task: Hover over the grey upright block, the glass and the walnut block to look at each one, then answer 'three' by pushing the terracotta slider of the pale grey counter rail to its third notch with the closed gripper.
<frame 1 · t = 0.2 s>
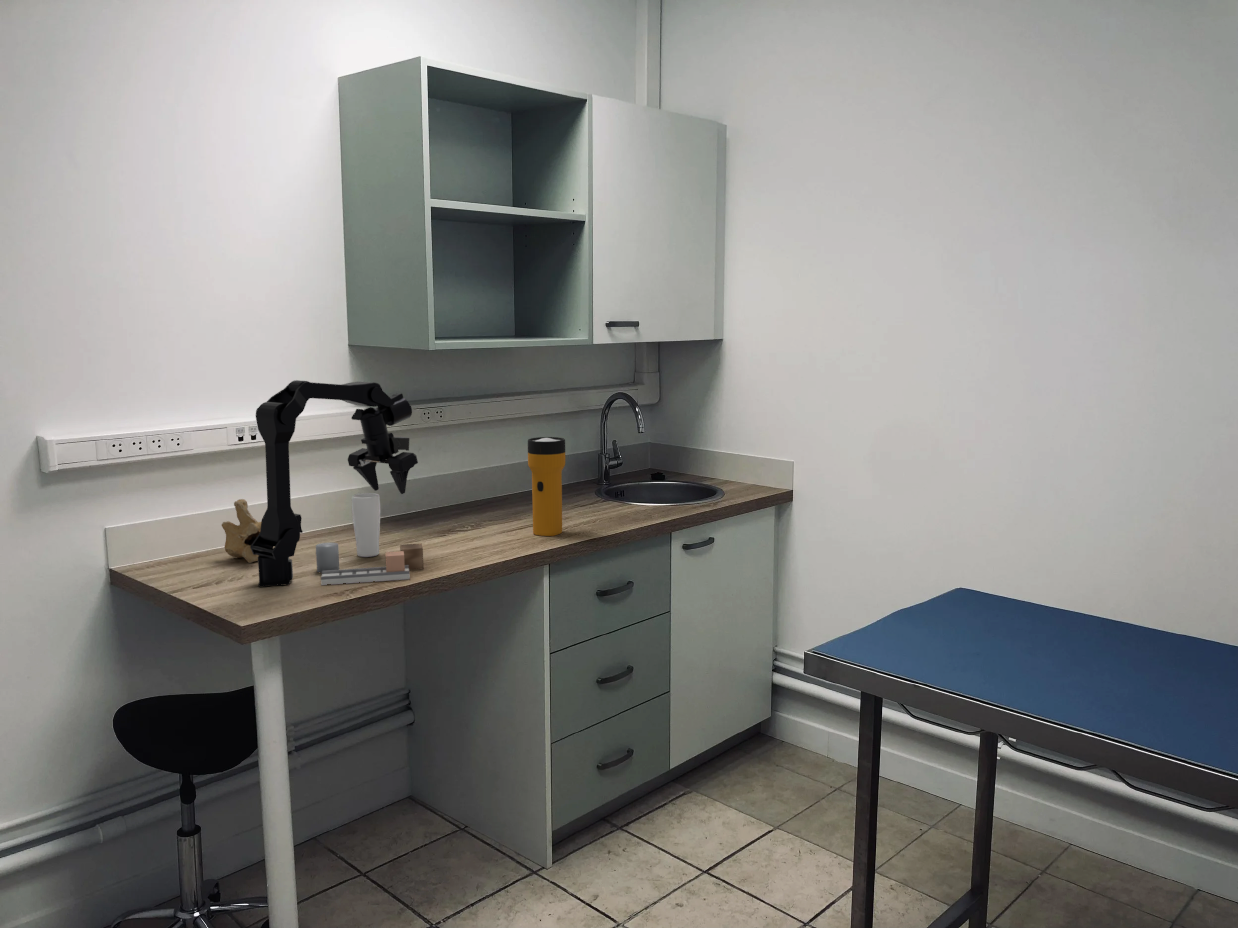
hand: (389, 491, 240), 15 cm above the table, tool pointing down, fingers open, 9 cm apart
counter rail: (363, 578, 218), on the table
vertebra: (249, 560, 236), on the table
flashlight: (547, 533, 262), on the table
grey upright block: (328, 570, 226), on the table
counter slider: (395, 562, 219), point 3 cm above the table, slide at 0.0 cm
walnut block: (412, 567, 228), on the table
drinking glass: (368, 555, 239), on the table
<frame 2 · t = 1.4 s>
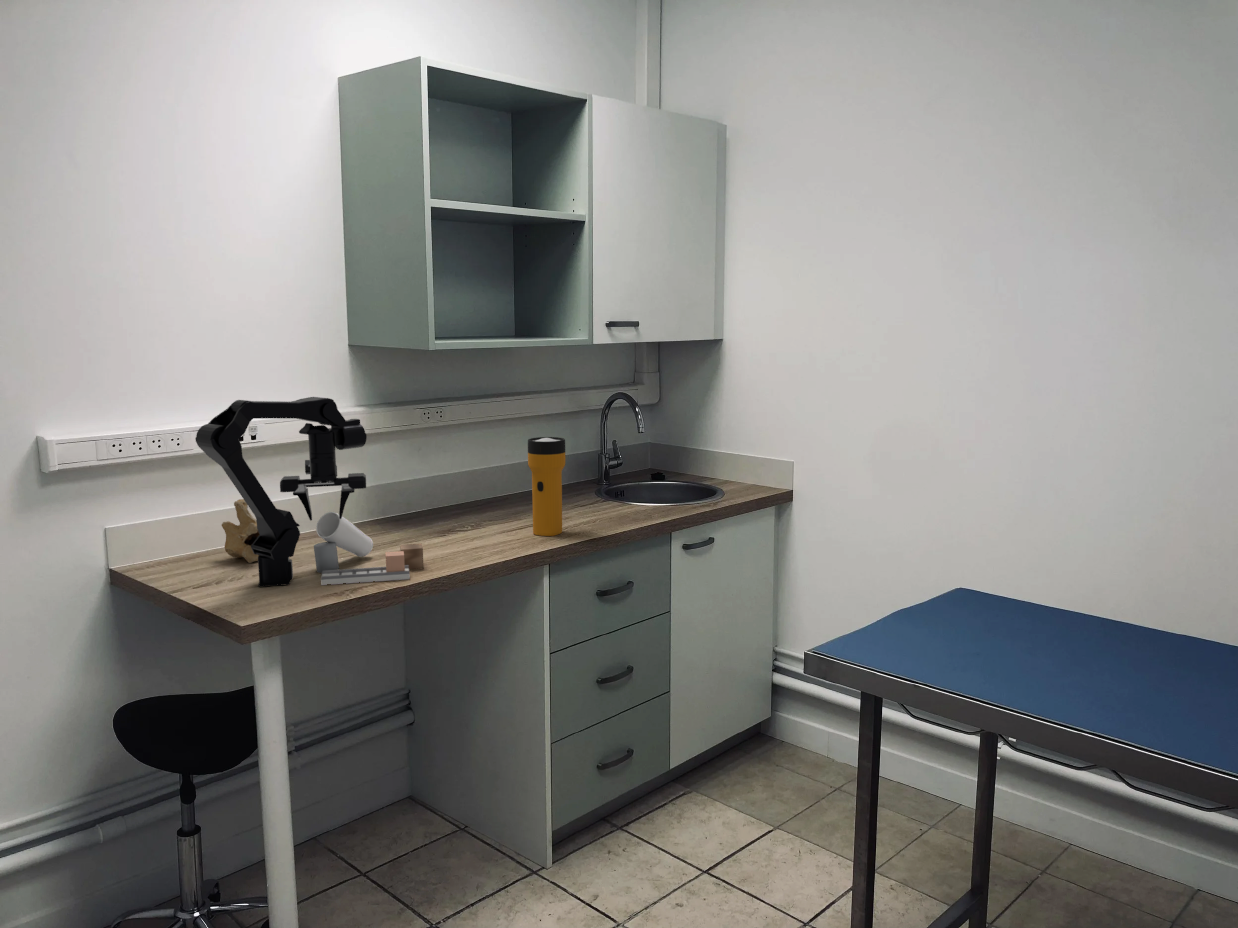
hand: (325, 519, 224), 12 cm above the table, tool pointing down, fingers open, 6 cm apart
grey upright block: (327, 569, 226), on the table, touching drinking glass
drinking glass: (365, 547, 238), point 2 cm above the table, touching grey upright block, gripper
everything else where it was.
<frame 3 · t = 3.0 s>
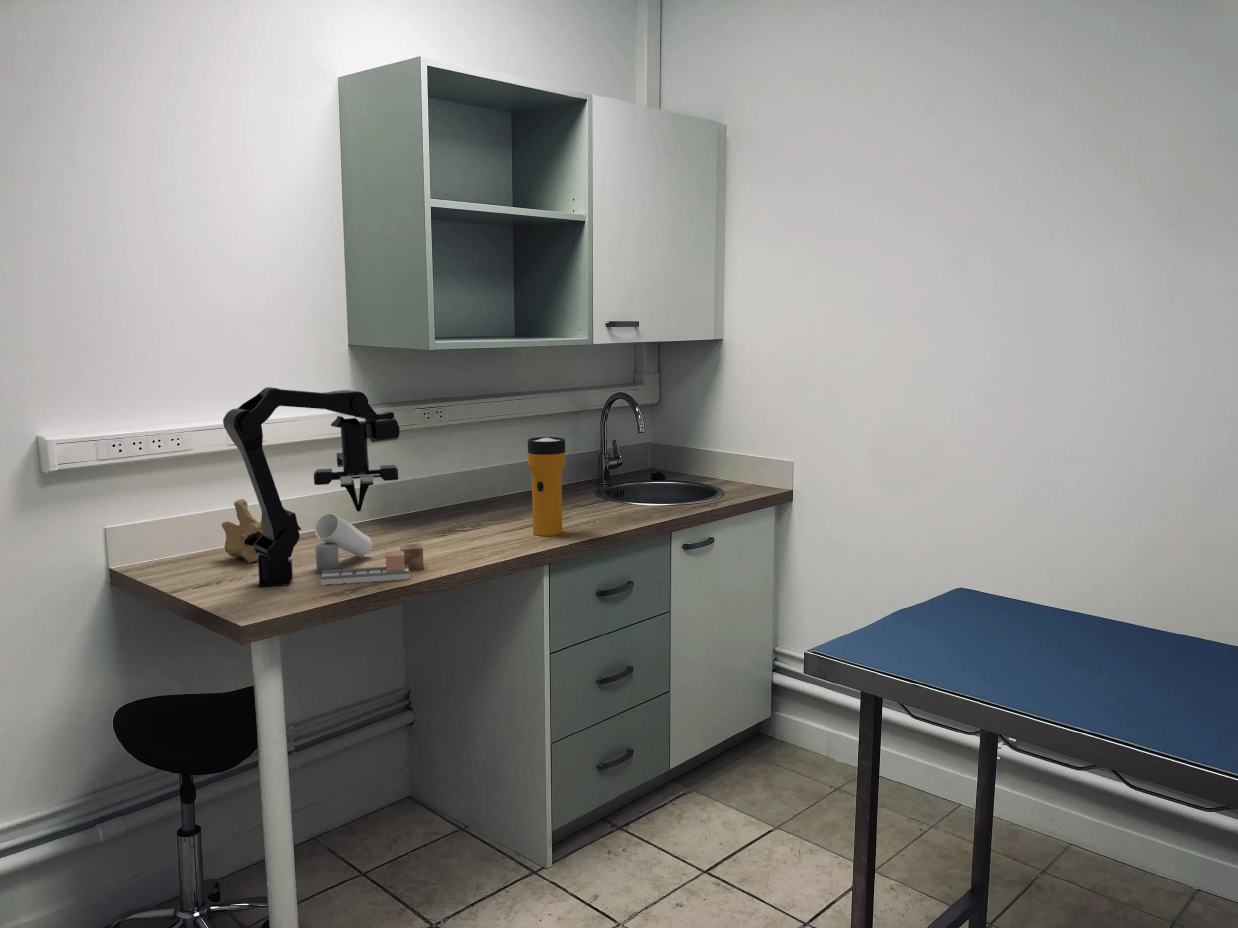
hand: (358, 511, 227), 13 cm above the table, tool pointing down, fingers closed
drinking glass: (364, 547, 239), point 2 cm above the table, touching grey upright block
everything else where it was.
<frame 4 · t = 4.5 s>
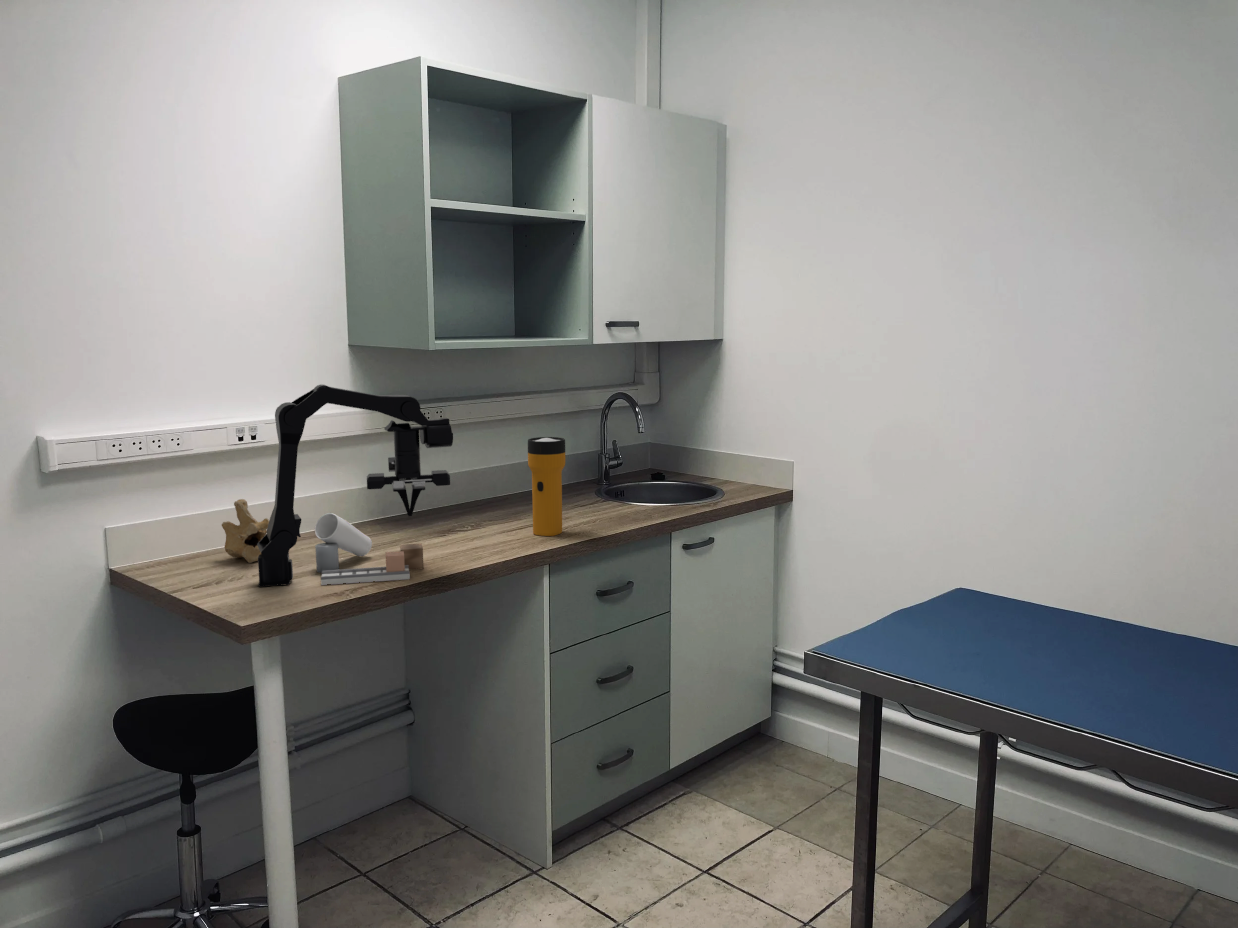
hand: (410, 515, 227), 12 cm above the table, tool pointing down, fingers closed
nothing on the table moved.
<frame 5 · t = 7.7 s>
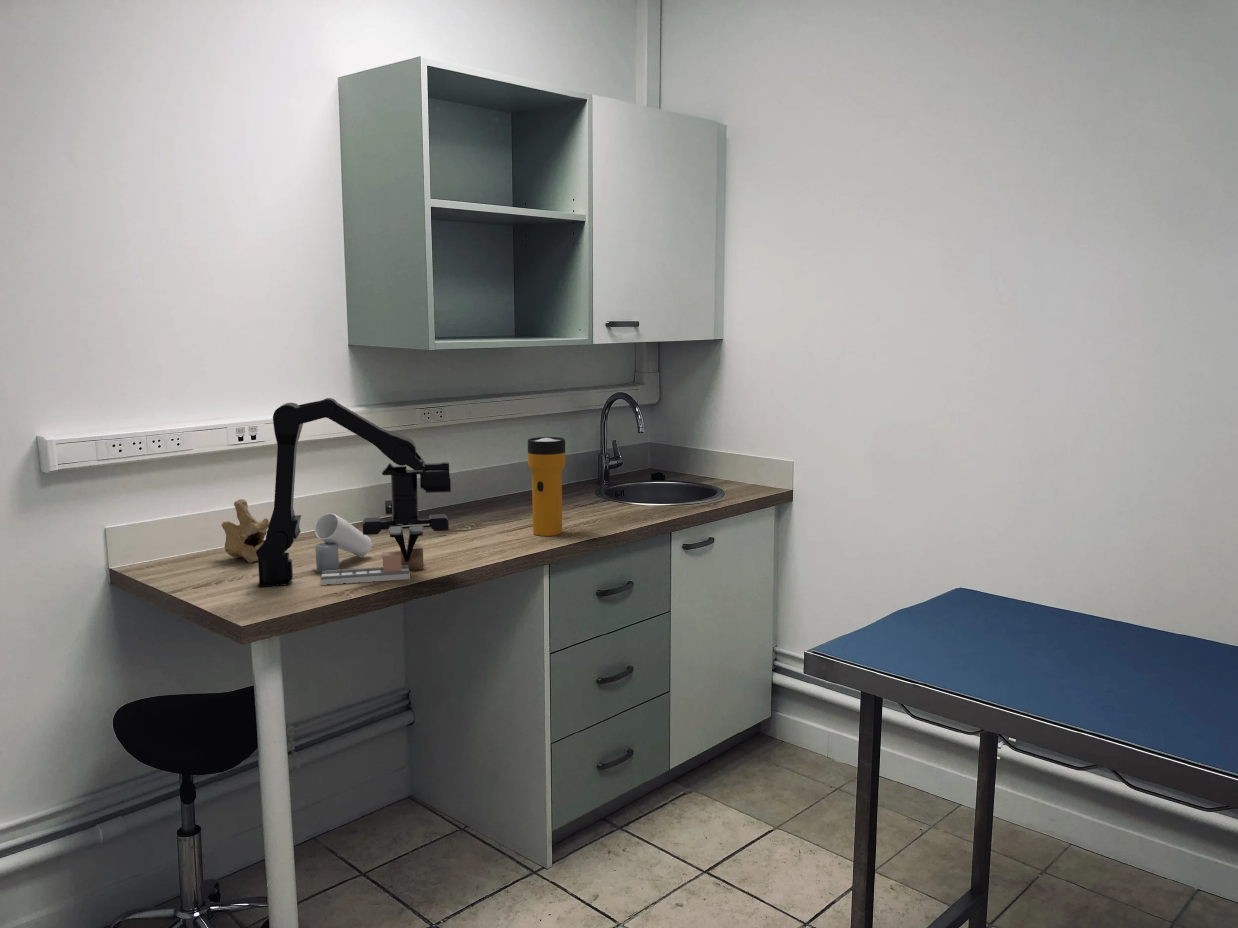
hand: (406, 561, 220), 3 cm above the table, tool pointing down, fingers closed
counter slider: (391, 562, 219), point 3 cm above the table, slide at 0.7 cm, touching gripper
everything else where it was.
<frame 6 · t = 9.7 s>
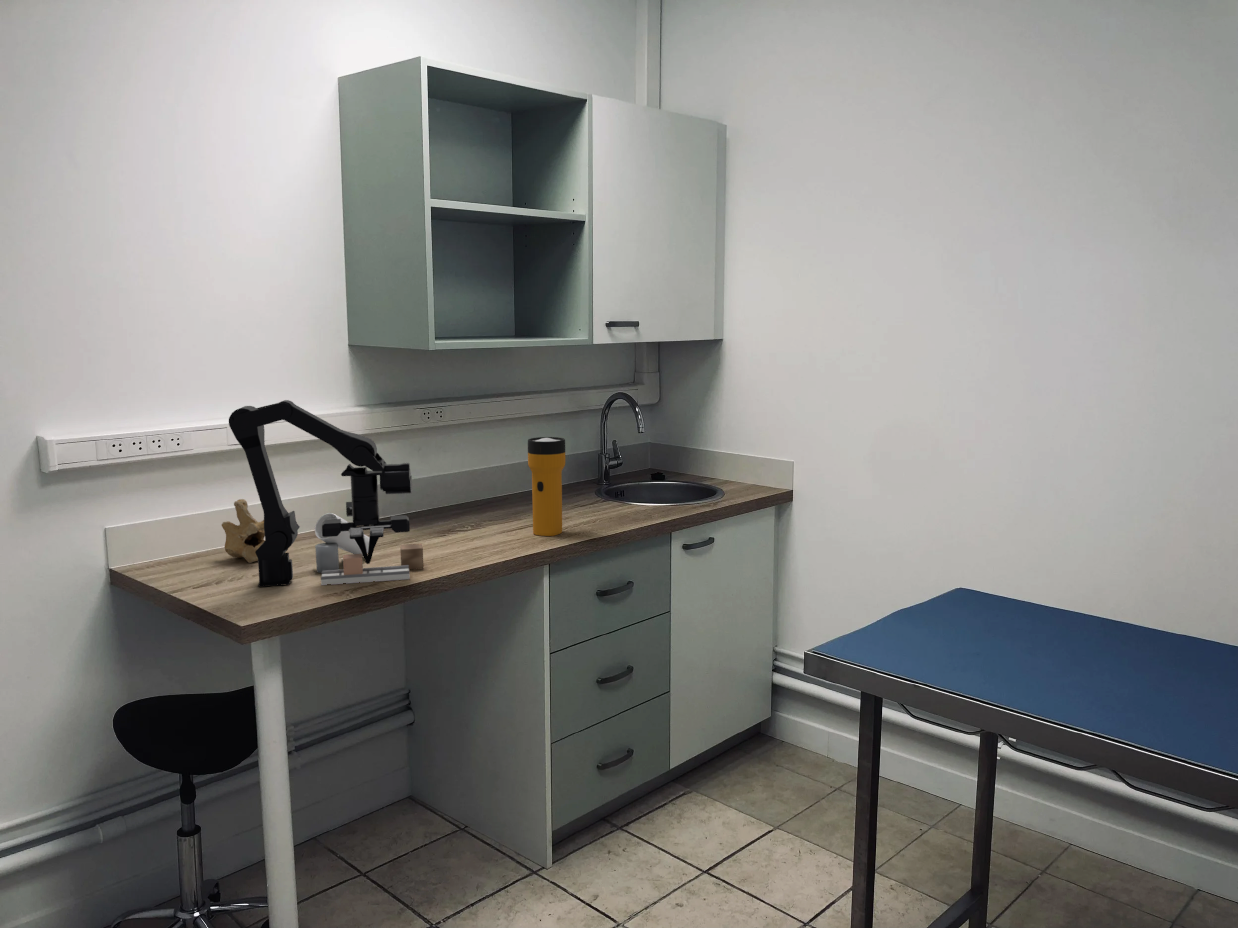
hand: (368, 563, 218), 4 cm above the table, tool pointing down, fingers closed
counter slider: (353, 565, 217), point 3 cm above the table, slide at 9.2 cm, touching gripper
everything else where it was.
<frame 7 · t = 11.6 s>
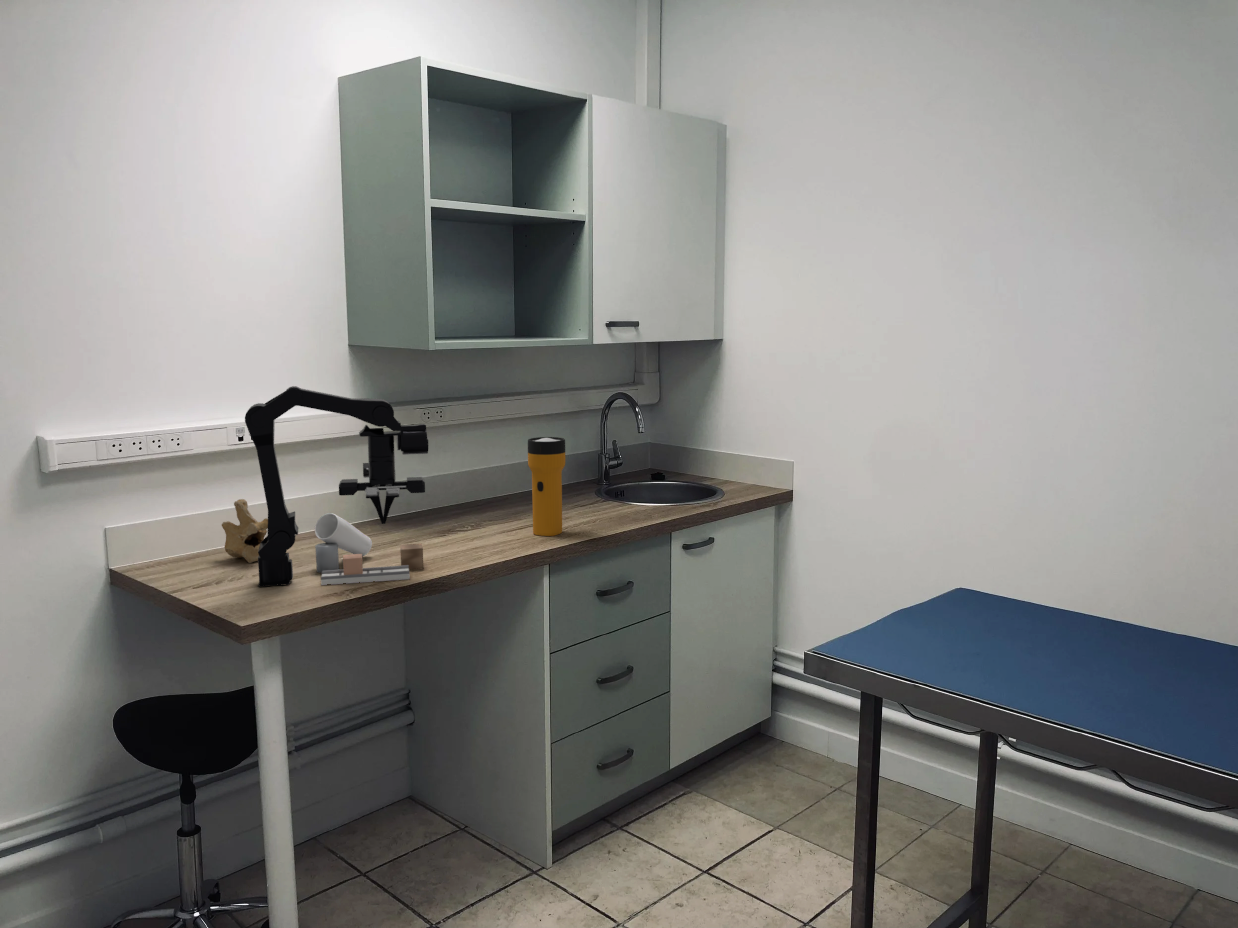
hand: (383, 523, 221), 12 cm above the table, tool pointing down, fingers closed
counter slider: (353, 565, 217), point 3 cm above the table, slide at 9.2 cm
everything else where it was.
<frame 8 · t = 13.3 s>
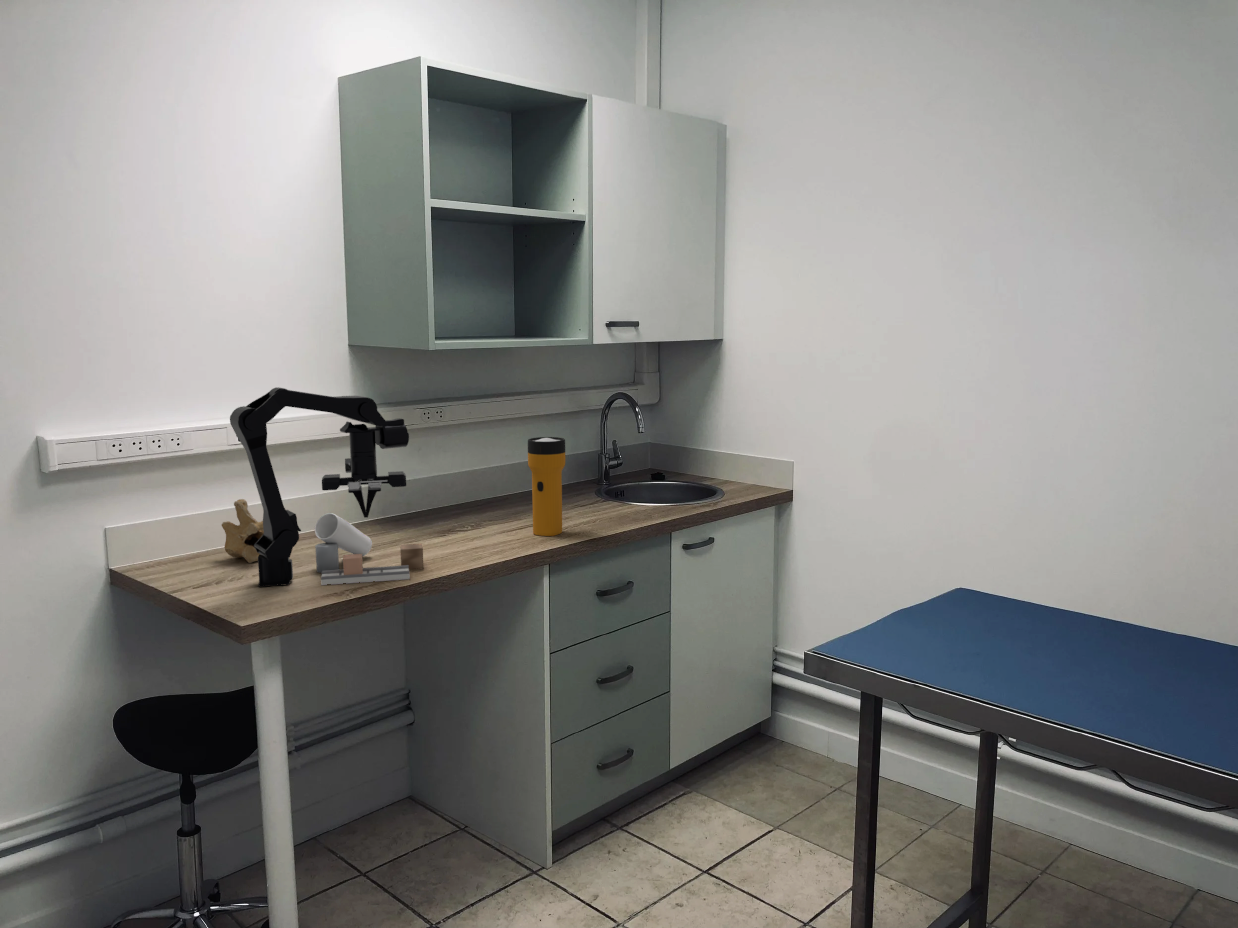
hand: (366, 517, 226), 12 cm above the table, tool pointing down, fingers closed
nothing on the table moved.
at the end: counter slider slide at 9.2 cm; walnut block moved 0.1 cm from its start; grey upright block moved 0.1 cm from its start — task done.
